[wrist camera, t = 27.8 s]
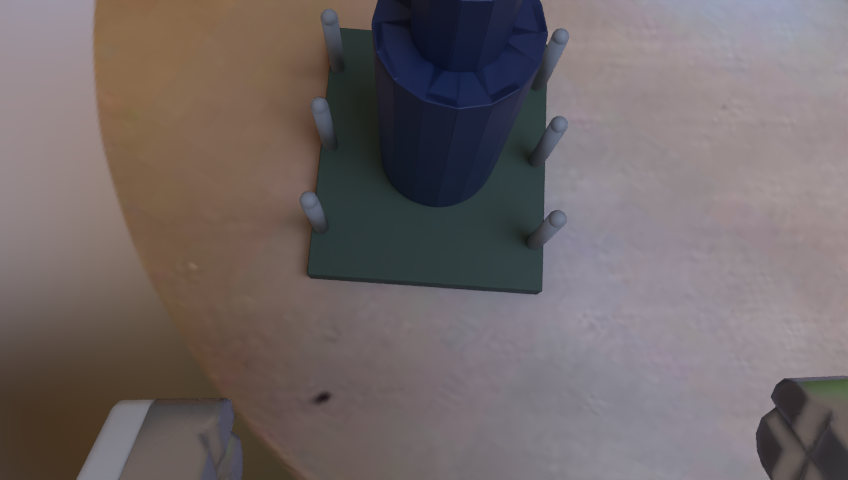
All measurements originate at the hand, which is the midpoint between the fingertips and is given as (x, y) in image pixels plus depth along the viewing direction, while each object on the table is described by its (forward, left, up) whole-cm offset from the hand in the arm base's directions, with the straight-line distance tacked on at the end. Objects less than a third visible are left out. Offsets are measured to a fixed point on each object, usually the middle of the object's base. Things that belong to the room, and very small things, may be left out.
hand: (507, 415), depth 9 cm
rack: (+12, +1, -23) cm, 26 cm away
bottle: (+12, 0, -21) cm, 25 cm away
